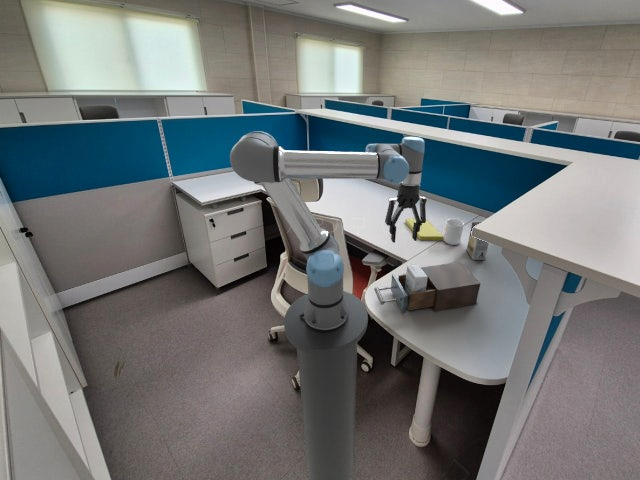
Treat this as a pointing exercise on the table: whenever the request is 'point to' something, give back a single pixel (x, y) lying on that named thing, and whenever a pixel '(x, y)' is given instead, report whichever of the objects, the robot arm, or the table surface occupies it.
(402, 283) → the drawer
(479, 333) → the table surface
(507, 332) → the table surface
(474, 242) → the coffee box
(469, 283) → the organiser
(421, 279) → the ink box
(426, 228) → the yellow flat slab
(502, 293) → the table surface
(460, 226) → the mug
